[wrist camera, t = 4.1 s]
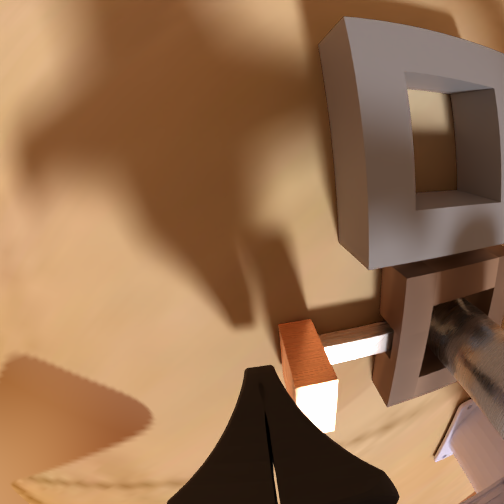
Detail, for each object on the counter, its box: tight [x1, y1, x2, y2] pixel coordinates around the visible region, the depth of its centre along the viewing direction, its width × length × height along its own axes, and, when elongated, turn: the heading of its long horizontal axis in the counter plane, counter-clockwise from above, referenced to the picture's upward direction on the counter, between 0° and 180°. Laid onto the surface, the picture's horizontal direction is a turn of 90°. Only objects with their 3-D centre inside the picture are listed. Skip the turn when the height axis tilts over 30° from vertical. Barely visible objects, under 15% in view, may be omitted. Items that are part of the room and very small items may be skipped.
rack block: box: [318, 17, 504, 270], centre depth 10 cm, size 8×8×3 cm
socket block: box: [372, 245, 504, 407], centre depth 13 cm, size 7×7×2 cm
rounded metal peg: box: [426, 297, 504, 440], centre depth 10 cm, size 3×3×8 cm
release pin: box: [278, 319, 394, 433], centre depth 11 cm, size 6×3×4 cm, turn 97°
